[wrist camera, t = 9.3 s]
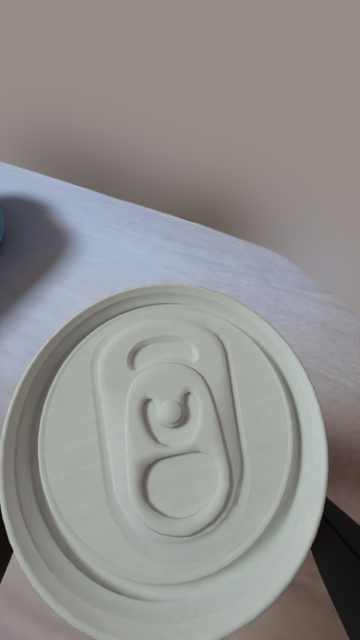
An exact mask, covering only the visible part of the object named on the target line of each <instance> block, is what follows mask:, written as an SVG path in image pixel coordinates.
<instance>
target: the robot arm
mask: <svg viewBox="0 0 360 640" xmlns="http://www.w3.org/2000/svg"><path fill="white" fill-rule="evenodd" d="M310 549H311V551H312V554H313V557H314V560H315V562H316V565H317V567H318V570H319V573H320V575H321V577H322V580H323V582H324V584H325V586H326V589H327V591H328V593H329V595H330V597H331V600H332V602H333V604H334V606H335V609H336V611H337V613H338V615H339V617H340V620H341V622H342V624H343V626H344V628H345V631H346V633H347V635H348V637H349V639H350V640H360V525H359V524H357V523H356V522H355V521H354V520H353V519H352V518H350V517H349V516H348V515H347V514H346V513H345V512H343V511H342V510H341V509H340V508H339V507H337V506H336V505H335V504H334V503H333V502H332V501H330V500H329V499H328V498H327V497H326V499H325V504H324V510H323V514H322V518H321V521H320V524H319V527H318V531H317V534H316V537H315V539H314V541H313V544H312V546H311V548H310ZM13 552H14V551H13V548H12V546H11V544H10V541H9V538H8V535H7V531H6V527H5V524H4V520H3V517H2V511H1V504H0V583H1V581H2V578H3V576H4V574H5V571H6V569H7V566H8V564H9V561H10V559H11V557H12V554H13Z"/></svg>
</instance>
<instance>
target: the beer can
mask: <svg viewBox="0 0 360 640" xmlns="http://www.w3.org/2000/svg"><path fill="white" fill-rule="evenodd" d="M328 471H329V459H328V442H327V435H326V428H325V422H324V418H323V414H322V410H321V406H320V403H319V400H318V398H317V395H316V392H315V389H314V387H313V384H312V382H311V380H310V378H309V376H308V374H307V372H306V370H305V368H304V367H303V365H302V363H301V361H300V360H299V358H298V356H297V355H296V354H295V352H294V351H293V349H292V348H291V347H290V345H289V344H288V343H287V342H286V340H285V339H284V338H283V337H282V336H281V335H280V334H279V332H278V331H277V330H276V329H275V328H273V327H272V326H271V325H270V324H269V323H268V322H267V321H266V320H265V319H263V318H262V317H261V316H260V315H258V314H257V313H256V312H254V311H253V310H251V309H250V308H248V307H247V306H245V305H244V304H242V303H240V302H238V301H236V300H234V299H232V298H230V297H228V296H226V295H223V294H221V293H218V292H215V291H212V290H209V289H206V288H201V287H197V286H192V285H184V284H151V285H144V286H138V287H134V288H130V289H126V290H123V291H120V292H117V293H114V294H111V295H109V296H107V297H105V298H102V299H100V300H98V301H96V302H95V303H93V304H91V305H89V306H87V307H86V308H84V309H83V310H81V311H80V312H79V313H77V314H76V315H74V316H73V317H72V318H70V319H69V320H68V321H67V322H66V323H64V324H63V325H62V326H61V327H60V328H59V329H58V330H57V331H56V332H55V333H54V334H53V335H52V336H51V337H50V338H49V339H48V340H47V341H46V343H45V344H44V345H43V346H42V347H41V349H40V350H39V351H38V352H37V354H36V355H35V357H34V358H33V360H32V361H31V363H30V364H29V366H28V367H27V369H26V371H25V373H24V374H23V376H22V378H21V380H20V382H19V384H18V386H17V388H16V391H15V393H14V395H13V398H12V400H11V402H10V406H9V409H8V412H7V415H6V419H5V422H4V426H3V431H2V437H1V442H0V504H1V511H2V517H3V520H4V524H5V527H6V531H7V535H8V538H9V541H10V544H11V546H12V548H13V551H14V553H15V555H16V558H17V560H18V562H19V564H20V566H21V568H22V570H23V571H24V573H25V574H26V576H27V578H28V579H29V581H30V582H31V584H32V586H33V587H34V589H35V590H36V591H37V592H38V593H39V595H40V596H41V597H42V598H43V599H44V600H45V602H46V603H47V604H48V605H49V606H50V607H51V609H53V610H54V611H55V612H56V613H57V614H59V615H60V616H61V617H62V618H63V619H64V620H66V621H67V622H68V623H69V624H70V625H72V626H73V627H75V628H76V629H78V630H80V631H81V632H83V633H85V634H87V635H88V636H90V637H92V638H94V639H95V640H222V639H225V638H227V637H229V636H231V635H233V634H234V633H236V632H238V631H239V630H241V629H242V628H244V627H245V626H247V625H249V624H250V623H252V622H253V621H255V620H256V619H257V618H258V617H259V616H260V615H261V614H262V613H264V612H265V611H266V610H267V609H268V608H269V607H270V606H271V605H273V604H274V603H275V601H276V600H277V599H278V598H279V597H280V595H281V594H282V593H283V592H284V591H285V589H286V588H287V587H288V586H289V585H290V583H291V582H292V580H293V579H294V577H295V576H296V574H297V572H298V571H299V569H300V568H301V566H302V564H303V563H304V561H305V559H306V557H307V555H308V553H309V550H310V548H311V546H312V544H313V541H314V539H315V537H316V534H317V531H318V527H319V524H320V521H321V518H322V514H323V510H324V504H325V499H326V494H327V485H328Z"/></svg>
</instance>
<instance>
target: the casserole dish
mask: <svg viewBox="0 0 360 640" xmlns="http://www.w3.org/2000/svg"><path fill="white" fill-rule="evenodd" d="M3 234H4V217H3V214H2V210H1V206H0V243H1V240H2V238H3Z"/></svg>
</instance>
